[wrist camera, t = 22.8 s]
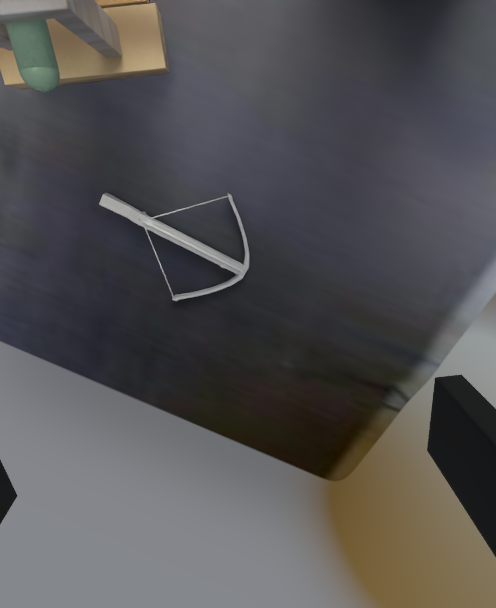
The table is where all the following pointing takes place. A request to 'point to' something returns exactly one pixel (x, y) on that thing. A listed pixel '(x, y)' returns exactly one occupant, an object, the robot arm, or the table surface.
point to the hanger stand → (43, 48)
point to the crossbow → (183, 241)
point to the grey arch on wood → (89, 40)
